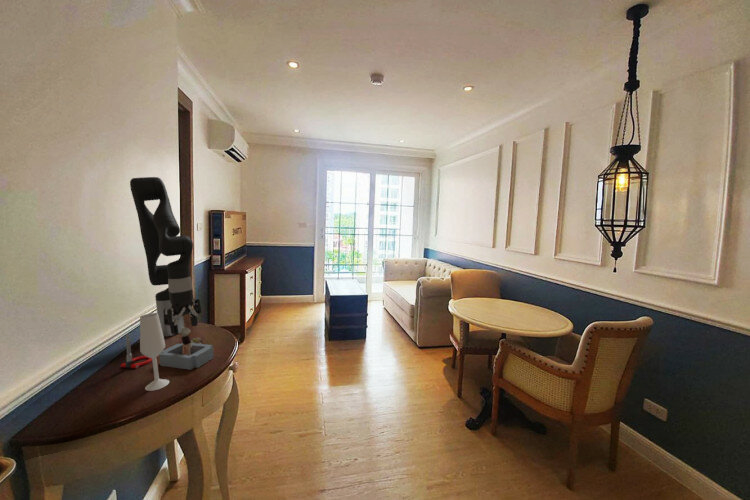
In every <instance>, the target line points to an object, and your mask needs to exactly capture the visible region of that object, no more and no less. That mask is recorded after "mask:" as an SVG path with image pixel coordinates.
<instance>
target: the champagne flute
mask: <svg viewBox="0 0 750 500" xmlns="http://www.w3.org/2000/svg"><path fill="white" fill-rule="evenodd" d="M165 341H166V340H165V337H163V333H162V328H161V324H160V320H159V316H158V314H157V312H154V313H153V312H152V313H146V314H142V315H140V317H139V351H140V353H141V355H142V356H147V357H149V358H152V362H151V363H152V369H153V377H154V380H152V381H151V382H149V383H148V384H147V385H146V386H145V388H144V389H145V390H146V391H148V392H151V391H157V390H160V389H162V388H165V387H166V386H168V385H169V384H170V380H169V379H166V378H165V379H164V378H160V375H159V366H158V360H157V357H159V354H161V352H162V351H163V350H165V349H166V342H165Z"/></svg>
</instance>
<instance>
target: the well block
mask: <svg viewBox="0 0 750 500" xmlns="http://www.w3.org/2000/svg"><path fill="white" fill-rule="evenodd" d="M191 346H192V347H191V348H190V353H191V355H182V351H183V342H182V343H176V344H174V345H171V346H170V347H167V348H164V350H163V351H162V352H161V353H160V354H159V356H158V357H159V363H160V364H159V365H160V366H161V367H167V368H168V367H169V368H175V369H181V370H189V371H190V370H192V369H194V368H196V369H198V368H200V367H202V366H203V365H205V364H206V363H208V362H209V360H210V361H212V360H213V359H214V356H215V355H214V346H213V344H207V343H206V344H204V343H203V344H198V343H191Z"/></svg>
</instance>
